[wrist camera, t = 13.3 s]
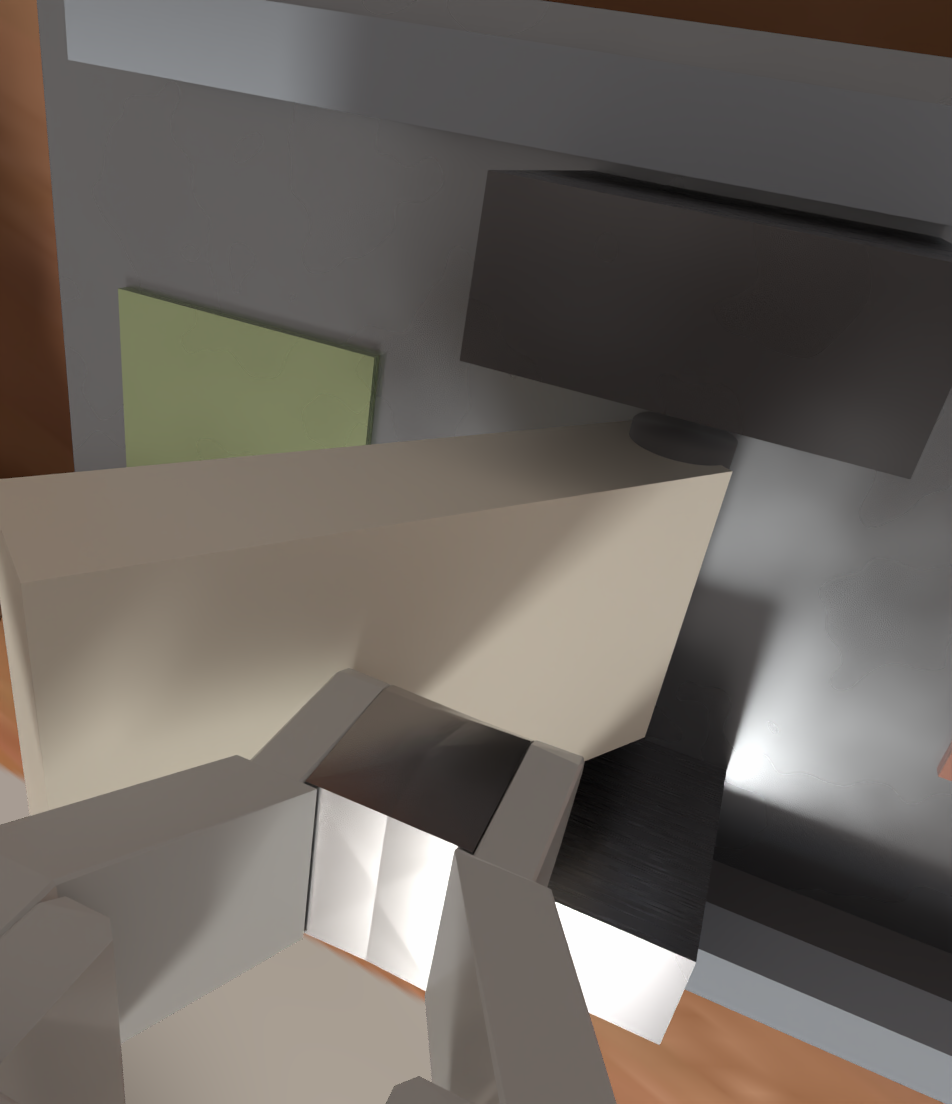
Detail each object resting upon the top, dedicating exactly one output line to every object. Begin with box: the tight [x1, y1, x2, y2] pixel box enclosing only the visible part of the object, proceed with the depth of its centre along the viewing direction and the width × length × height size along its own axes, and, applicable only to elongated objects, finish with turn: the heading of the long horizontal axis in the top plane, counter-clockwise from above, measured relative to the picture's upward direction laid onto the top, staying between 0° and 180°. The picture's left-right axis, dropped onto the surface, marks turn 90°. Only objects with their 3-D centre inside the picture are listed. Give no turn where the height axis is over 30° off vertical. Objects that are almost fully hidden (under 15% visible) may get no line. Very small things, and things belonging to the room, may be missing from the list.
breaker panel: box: [37, 0, 952, 1045], centre depth 12 cm, size 23×14×7 cm, turn 80°
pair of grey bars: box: [64, 0, 952, 1104], centre depth 12 cm, size 19×13×2 cm
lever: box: [0, 411, 738, 816], centre depth 10 cm, size 2×5×9 cm
